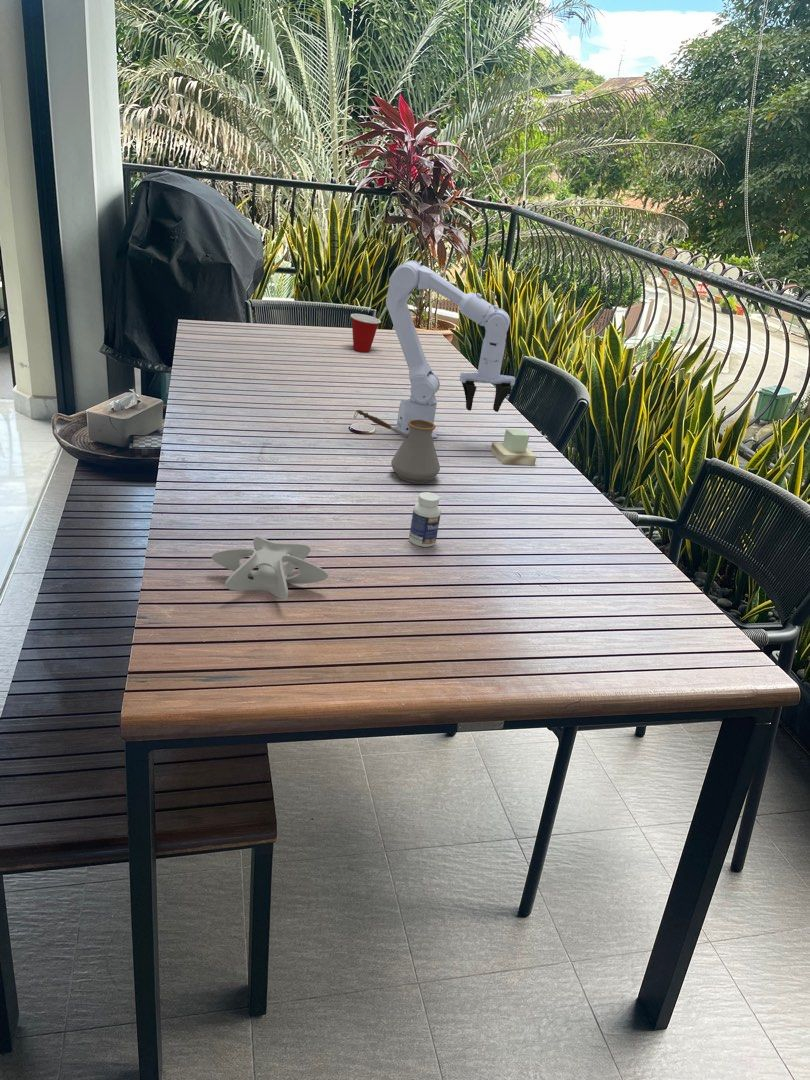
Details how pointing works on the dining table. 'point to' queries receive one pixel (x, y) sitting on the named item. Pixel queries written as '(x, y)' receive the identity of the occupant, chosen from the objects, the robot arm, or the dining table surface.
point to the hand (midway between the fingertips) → (482, 410)
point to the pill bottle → (425, 520)
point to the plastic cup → (363, 331)
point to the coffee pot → (413, 451)
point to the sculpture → (269, 567)
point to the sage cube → (516, 440)
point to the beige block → (512, 455)
